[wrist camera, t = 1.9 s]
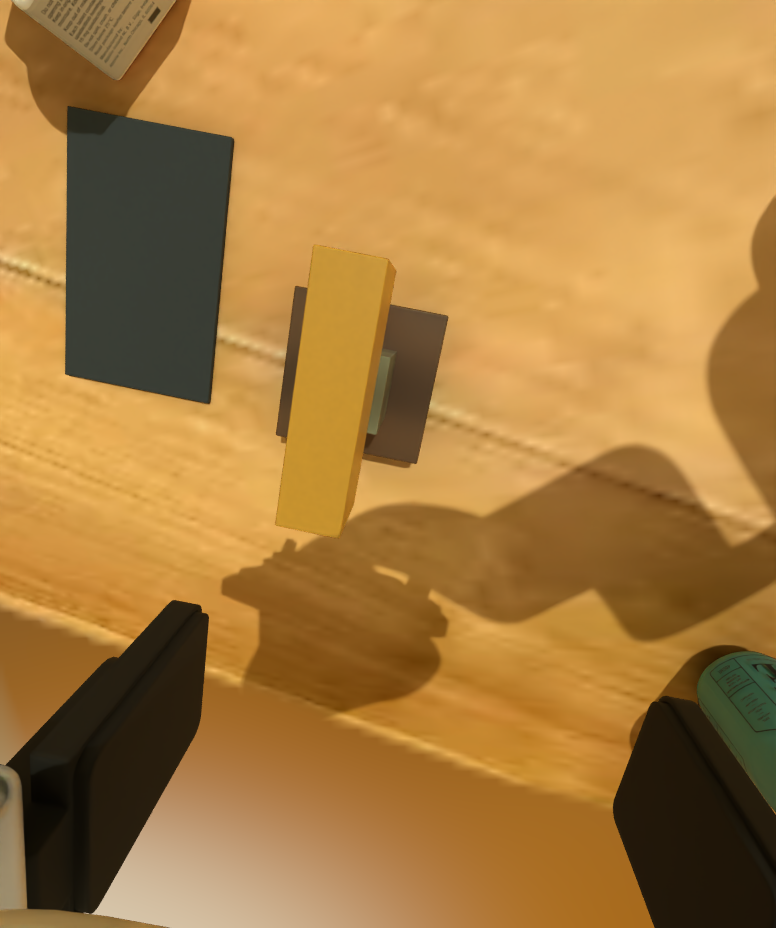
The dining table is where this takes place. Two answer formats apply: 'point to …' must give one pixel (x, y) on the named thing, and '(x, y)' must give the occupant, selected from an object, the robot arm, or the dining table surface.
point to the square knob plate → (385, 379)
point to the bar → (333, 388)
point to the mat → (144, 252)
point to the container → (101, 27)
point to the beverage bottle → (744, 713)
